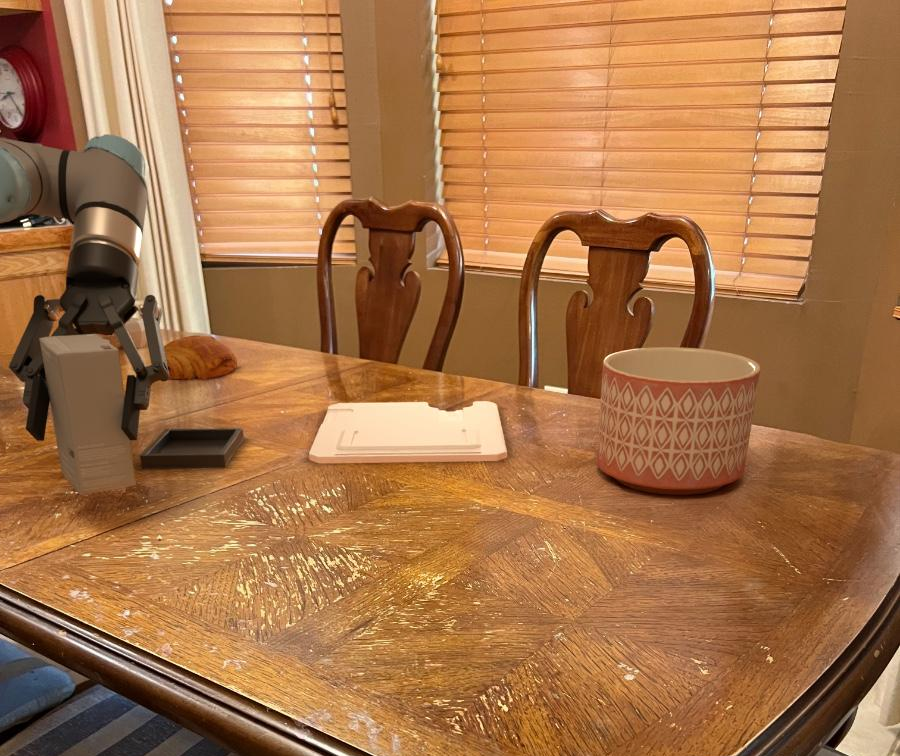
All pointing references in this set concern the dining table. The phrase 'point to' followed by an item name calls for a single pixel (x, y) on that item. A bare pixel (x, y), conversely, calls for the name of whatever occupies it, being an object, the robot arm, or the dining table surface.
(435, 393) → the dining table surface
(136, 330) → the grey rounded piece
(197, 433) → the pad
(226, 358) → the croissant
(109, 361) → the cosmetic box
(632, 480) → the planter
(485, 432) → the tray
